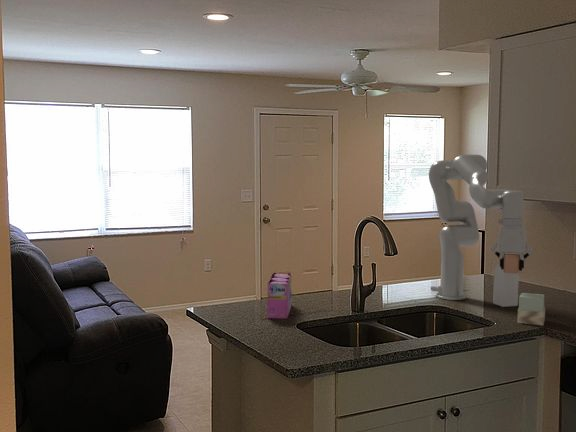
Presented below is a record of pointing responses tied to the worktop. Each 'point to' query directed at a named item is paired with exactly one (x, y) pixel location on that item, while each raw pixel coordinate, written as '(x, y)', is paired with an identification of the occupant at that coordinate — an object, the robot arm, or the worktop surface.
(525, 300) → the sage block
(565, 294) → the worktop surface
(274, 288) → the gum box
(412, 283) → the worktop surface
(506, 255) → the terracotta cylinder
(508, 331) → the worktop surface
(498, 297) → the milk carton
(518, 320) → the birch block
